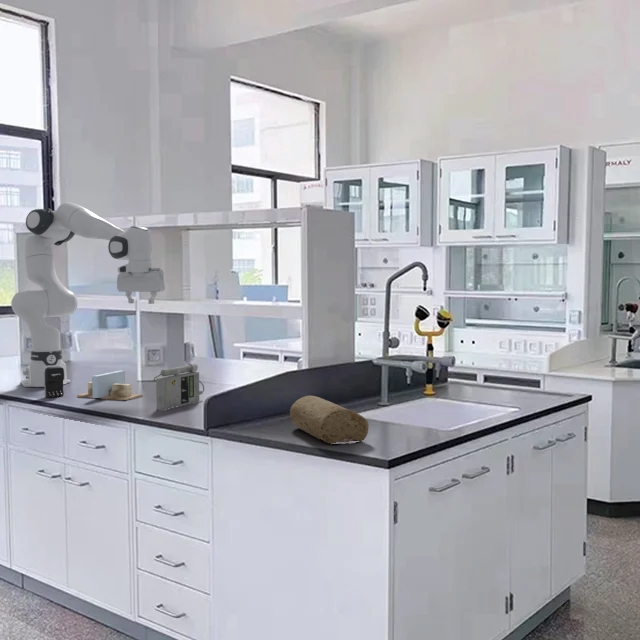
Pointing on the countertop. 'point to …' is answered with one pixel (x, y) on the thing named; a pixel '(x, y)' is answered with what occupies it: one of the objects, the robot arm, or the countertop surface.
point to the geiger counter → (178, 387)
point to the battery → (53, 381)
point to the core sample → (328, 420)
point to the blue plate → (106, 383)
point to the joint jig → (114, 392)
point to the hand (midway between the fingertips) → (141, 303)
